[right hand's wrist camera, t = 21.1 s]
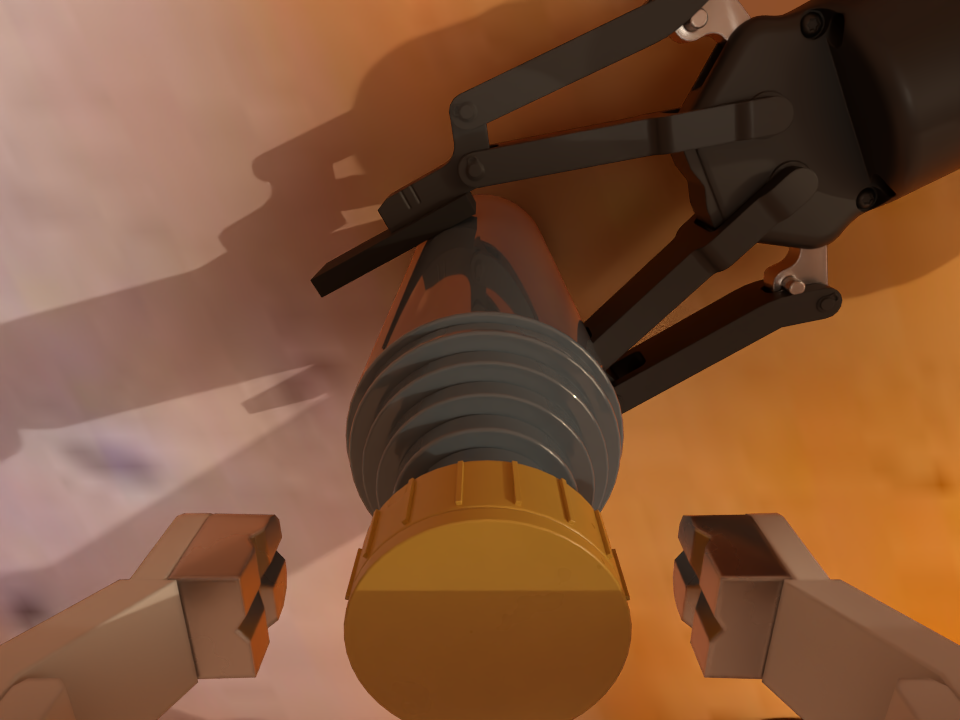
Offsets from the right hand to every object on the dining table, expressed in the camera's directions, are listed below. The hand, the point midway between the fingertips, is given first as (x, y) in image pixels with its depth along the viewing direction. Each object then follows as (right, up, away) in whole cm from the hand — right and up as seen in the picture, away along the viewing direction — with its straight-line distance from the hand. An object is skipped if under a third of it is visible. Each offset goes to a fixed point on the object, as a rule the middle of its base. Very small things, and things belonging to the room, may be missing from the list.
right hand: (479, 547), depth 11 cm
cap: (0, -1, -1) cm, 1 cm away
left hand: (-4, +3, +16) cm, 17 cm away
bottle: (0, +8, +20) cm, 22 cm away
